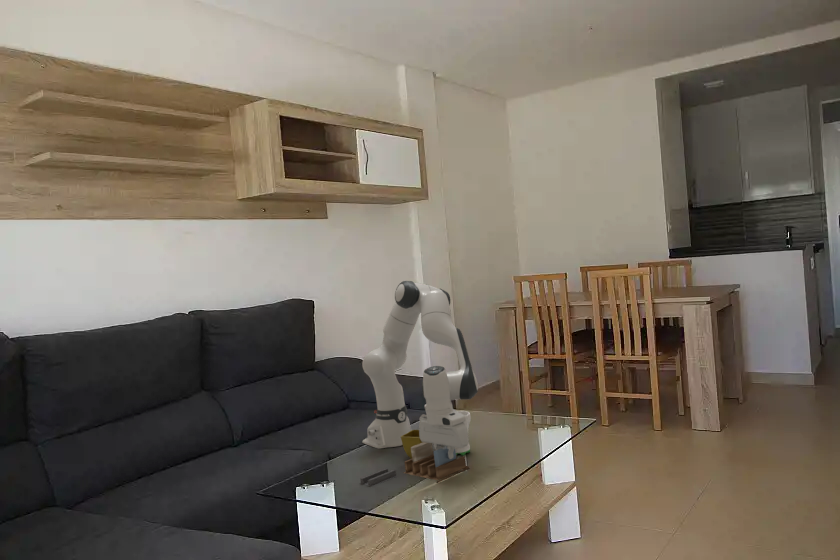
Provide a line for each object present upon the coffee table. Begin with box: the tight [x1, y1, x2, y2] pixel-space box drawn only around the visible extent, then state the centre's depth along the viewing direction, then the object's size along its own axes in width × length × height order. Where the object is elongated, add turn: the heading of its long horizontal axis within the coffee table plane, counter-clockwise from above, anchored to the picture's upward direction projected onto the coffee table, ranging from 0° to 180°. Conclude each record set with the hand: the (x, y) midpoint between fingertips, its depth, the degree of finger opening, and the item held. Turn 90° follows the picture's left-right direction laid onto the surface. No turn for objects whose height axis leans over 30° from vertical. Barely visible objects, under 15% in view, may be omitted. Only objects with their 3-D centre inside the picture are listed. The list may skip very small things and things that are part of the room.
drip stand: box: [359, 467, 398, 488], centre depth 224 cm, size 7×11×3 cm, turn 133°
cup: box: [455, 410, 472, 456], centre depth 245 cm, size 11×11×14 cm
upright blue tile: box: [433, 445, 458, 467], centre depth 223 cm, size 2×8×8 cm, turn 132°
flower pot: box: [401, 429, 423, 459], centre depth 246 cm, size 9×9×9 cm
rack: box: [402, 442, 470, 484], centre depth 227 cm, size 17×15×9 cm
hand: (445, 457), depth 223 cm, fingers open, 3 cm apart
